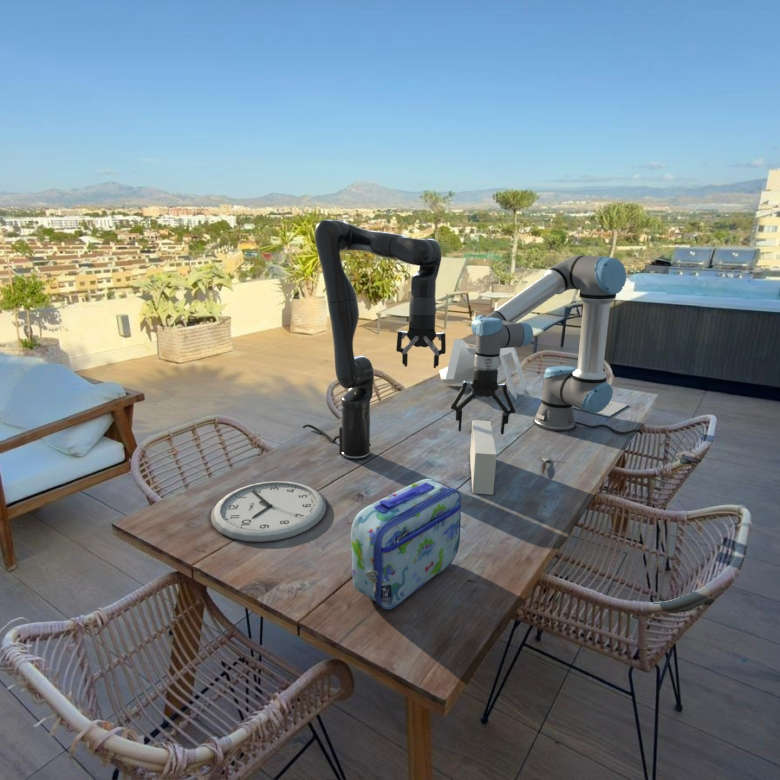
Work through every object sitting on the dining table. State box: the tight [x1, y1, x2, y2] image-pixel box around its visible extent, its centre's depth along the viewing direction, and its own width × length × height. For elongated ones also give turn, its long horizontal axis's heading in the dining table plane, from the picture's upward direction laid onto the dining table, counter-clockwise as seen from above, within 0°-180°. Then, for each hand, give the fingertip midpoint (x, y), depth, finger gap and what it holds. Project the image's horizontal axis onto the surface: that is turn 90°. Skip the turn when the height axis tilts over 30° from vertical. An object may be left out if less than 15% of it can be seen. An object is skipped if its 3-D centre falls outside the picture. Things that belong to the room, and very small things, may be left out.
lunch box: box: [350, 478, 462, 611], centre depth 110 cm, size 26×11×21 cm, turn 135°
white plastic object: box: [438, 338, 531, 400], centre depth 245 cm, size 37×45×31 cm
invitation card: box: [573, 400, 629, 418], centre depth 226 cm, size 21×1×15 cm
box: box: [469, 419, 498, 496], centre depth 161 cm, size 27×6×13 cm, turn 173°
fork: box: [541, 449, 551, 474], centre depth 169 cm, size 3×16×2 cm, turn 160°
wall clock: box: [210, 480, 327, 543], centre depth 140 cm, size 30×2×30 cm
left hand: (420, 366), depth 154 cm, fingers open, 8 cm apart
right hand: (480, 431), depth 169 cm, fingers open, 13 cm apart
